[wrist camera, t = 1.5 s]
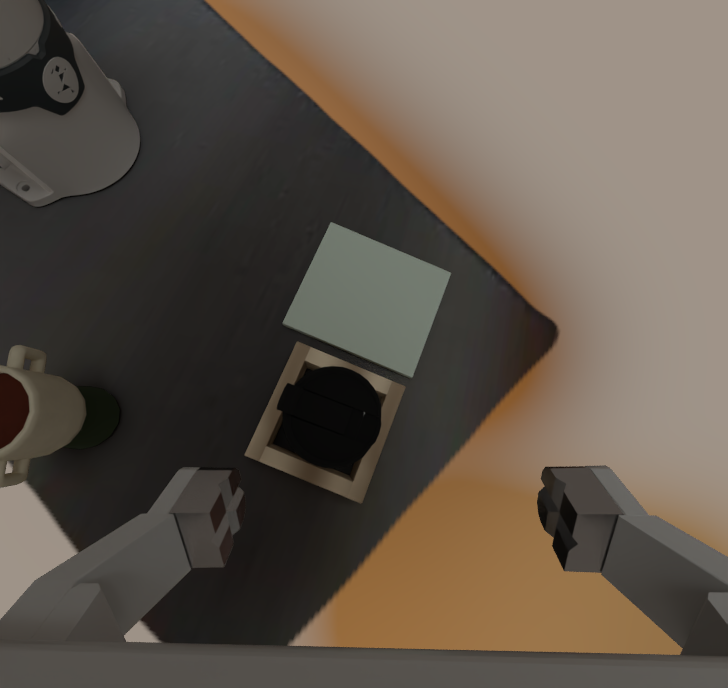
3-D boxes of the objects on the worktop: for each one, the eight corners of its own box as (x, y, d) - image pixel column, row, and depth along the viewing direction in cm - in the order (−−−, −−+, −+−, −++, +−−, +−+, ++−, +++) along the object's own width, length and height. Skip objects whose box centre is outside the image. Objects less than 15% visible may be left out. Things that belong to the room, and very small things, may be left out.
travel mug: (310, 383, 42) (299, 346, 23) (365, 404, 43) (400, 385, 23) (288, 437, 41) (257, 446, 21) (345, 458, 41) (365, 486, 22)
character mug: (61, 366, 40) (-59, 337, 27) (132, 365, 41) (47, 338, 28) (45, 473, 38) (-94, 496, 25) (121, 470, 38) (22, 492, 26)
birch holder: (253, 451, 40) (244, 455, 35) (300, 350, 43) (297, 341, 38) (357, 494, 40) (361, 503, 35) (396, 391, 43) (405, 386, 38)
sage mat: (283, 325, 43) (282, 323, 43) (330, 226, 47) (331, 222, 46) (410, 378, 44) (412, 377, 43) (448, 276, 47) (451, 272, 46)
